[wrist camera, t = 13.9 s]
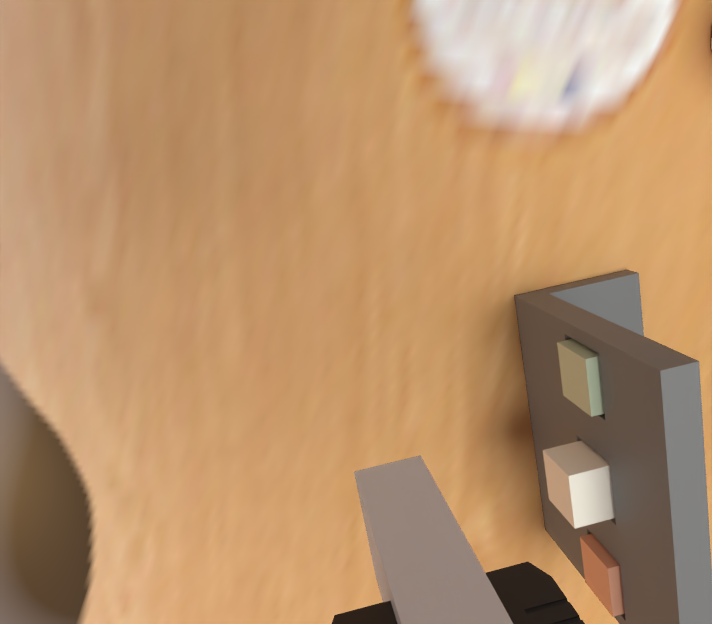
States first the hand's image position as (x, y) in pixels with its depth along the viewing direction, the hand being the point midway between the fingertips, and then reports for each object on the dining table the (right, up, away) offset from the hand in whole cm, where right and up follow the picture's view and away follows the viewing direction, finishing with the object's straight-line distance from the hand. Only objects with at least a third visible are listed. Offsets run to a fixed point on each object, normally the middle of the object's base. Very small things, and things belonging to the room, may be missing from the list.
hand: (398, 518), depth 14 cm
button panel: (+17, -3, +37) cm, 41 cm away
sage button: (+14, +1, +27) cm, 30 cm away
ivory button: (+13, -6, +28) cm, 32 cm away
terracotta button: (+16, -12, +30) cm, 36 cm away
